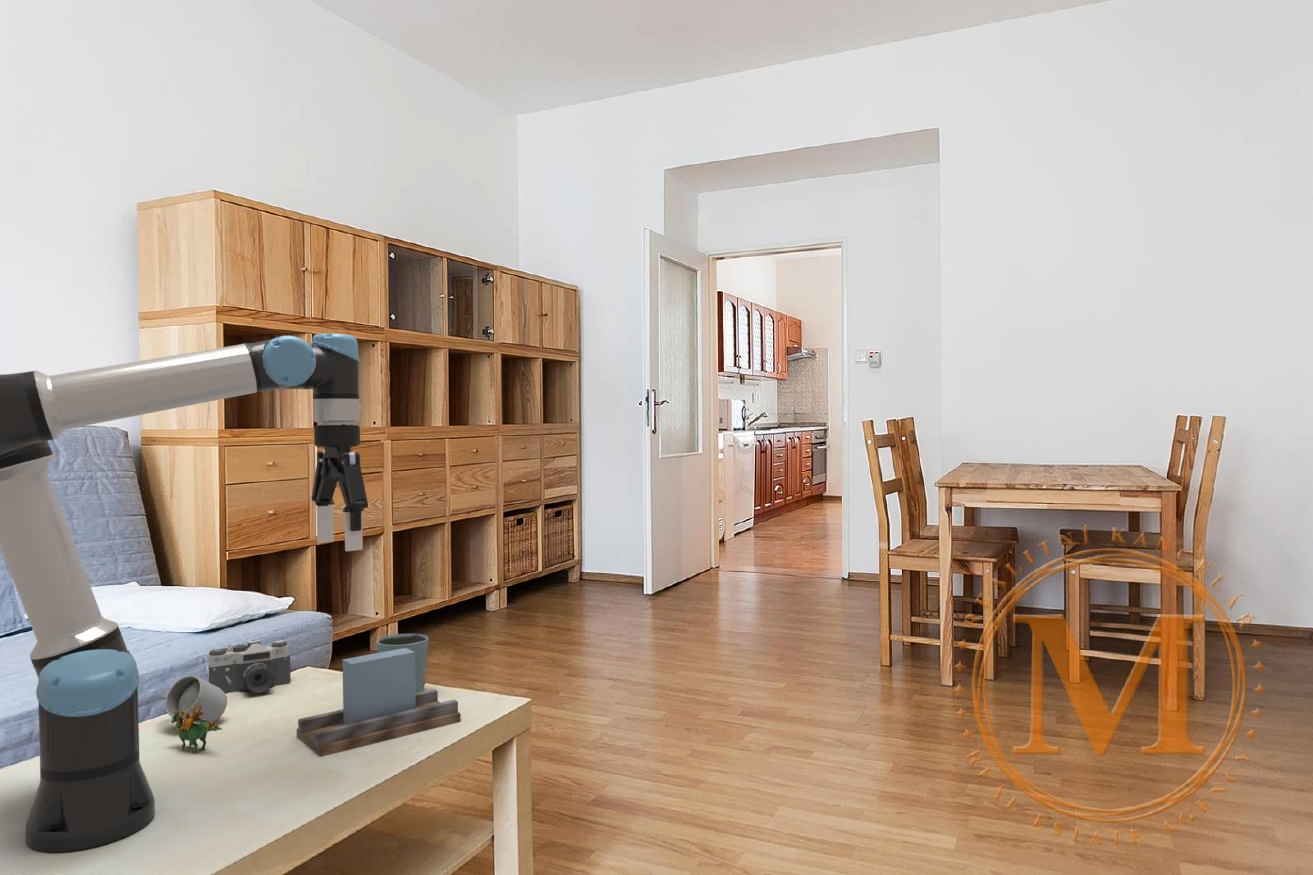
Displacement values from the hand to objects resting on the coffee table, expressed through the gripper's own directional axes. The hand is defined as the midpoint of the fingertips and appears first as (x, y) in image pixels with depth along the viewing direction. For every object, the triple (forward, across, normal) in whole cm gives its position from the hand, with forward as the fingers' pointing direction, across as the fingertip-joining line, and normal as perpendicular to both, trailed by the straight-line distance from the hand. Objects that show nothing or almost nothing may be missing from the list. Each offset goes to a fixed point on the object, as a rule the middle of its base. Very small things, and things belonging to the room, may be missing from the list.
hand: (339, 546), depth 152 cm
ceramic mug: (+35, +28, +18) cm, 48 cm away
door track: (+35, +3, -8) cm, 36 cm away
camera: (+35, +42, +4) cm, 55 cm away
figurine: (+35, +13, +20) cm, 42 cm away
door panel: (+33, +3, -8) cm, 34 cm away
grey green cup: (+35, +18, -19) cm, 44 cm away
